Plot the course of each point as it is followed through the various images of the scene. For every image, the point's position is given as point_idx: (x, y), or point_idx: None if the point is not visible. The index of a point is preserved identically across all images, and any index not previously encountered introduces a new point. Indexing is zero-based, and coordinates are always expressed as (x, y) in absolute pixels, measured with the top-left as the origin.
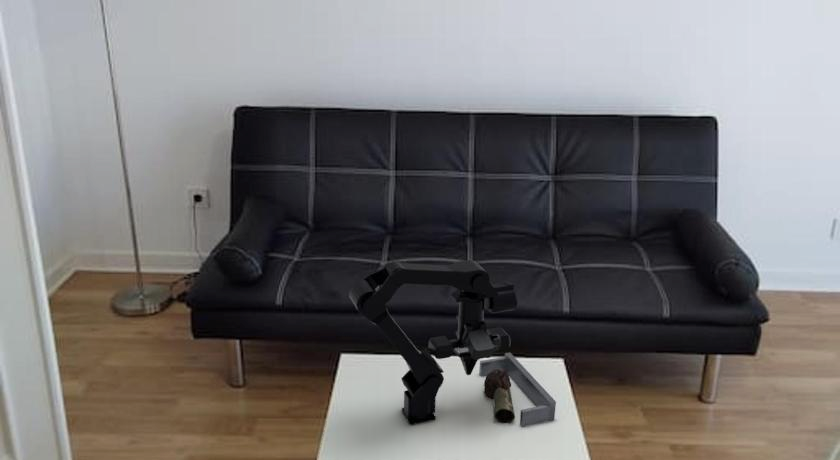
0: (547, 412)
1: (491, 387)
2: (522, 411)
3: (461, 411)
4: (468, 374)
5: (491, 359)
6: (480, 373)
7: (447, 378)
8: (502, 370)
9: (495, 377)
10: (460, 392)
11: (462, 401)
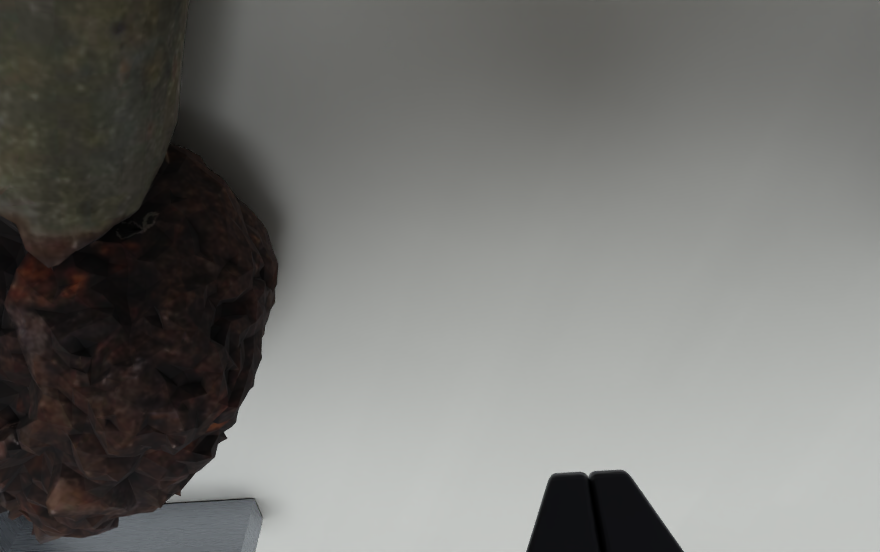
0: None
1: (171, 284)
2: None
3: (639, 38)
4: (608, 482)
5: None
6: (251, 527)
7: None
8: None
9: (80, 419)
10: (507, 352)
11: (545, 219)
